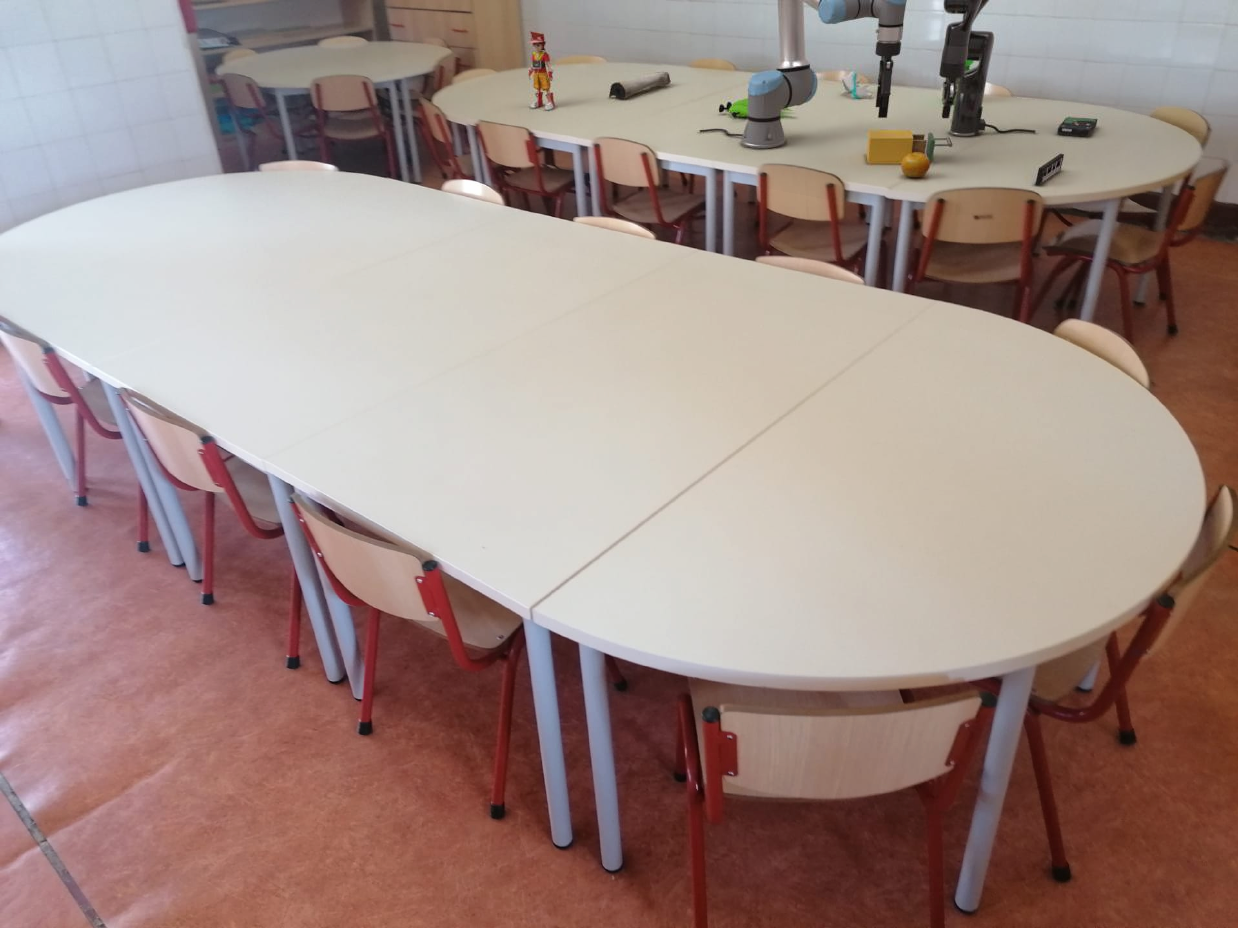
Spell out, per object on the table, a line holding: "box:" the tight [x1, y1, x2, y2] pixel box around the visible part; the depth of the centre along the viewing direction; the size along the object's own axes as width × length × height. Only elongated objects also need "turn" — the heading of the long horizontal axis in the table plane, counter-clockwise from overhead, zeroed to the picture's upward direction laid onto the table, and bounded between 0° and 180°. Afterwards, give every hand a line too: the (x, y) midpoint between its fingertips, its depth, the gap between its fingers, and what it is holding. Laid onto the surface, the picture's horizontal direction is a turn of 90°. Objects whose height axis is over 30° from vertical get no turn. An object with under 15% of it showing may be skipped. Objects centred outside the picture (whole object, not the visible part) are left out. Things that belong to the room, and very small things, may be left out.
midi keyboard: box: [1035, 153, 1065, 186], centre depth 273 cm, size 18×1×5 cm, turn 138°
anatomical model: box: [841, 70, 873, 100], centre depth 370 cm, size 15×10×10 cm
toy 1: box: [527, 31, 556, 111], centre depth 374 cm, size 12×9×30 cm
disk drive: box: [1057, 116, 1098, 137], centre depth 313 cm, size 10×3×15 cm
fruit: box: [900, 152, 931, 178], centre depth 281 cm, size 8×8×8 cm
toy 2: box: [718, 97, 794, 118], centre depth 353 cm, size 28×5×30 cm
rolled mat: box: [608, 71, 672, 101], centre depth 395 cm, size 30×9×10 cm
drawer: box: [912, 132, 954, 161], centre depth 294 cm, size 18×9×6 cm, turn 80°
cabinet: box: [865, 129, 913, 165], centre depth 296 cm, size 13×10×8 cm
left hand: (881, 112), depth 291 cm, fingers open, 13 cm apart
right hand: (945, 117), depth 288 cm, fingers closed
